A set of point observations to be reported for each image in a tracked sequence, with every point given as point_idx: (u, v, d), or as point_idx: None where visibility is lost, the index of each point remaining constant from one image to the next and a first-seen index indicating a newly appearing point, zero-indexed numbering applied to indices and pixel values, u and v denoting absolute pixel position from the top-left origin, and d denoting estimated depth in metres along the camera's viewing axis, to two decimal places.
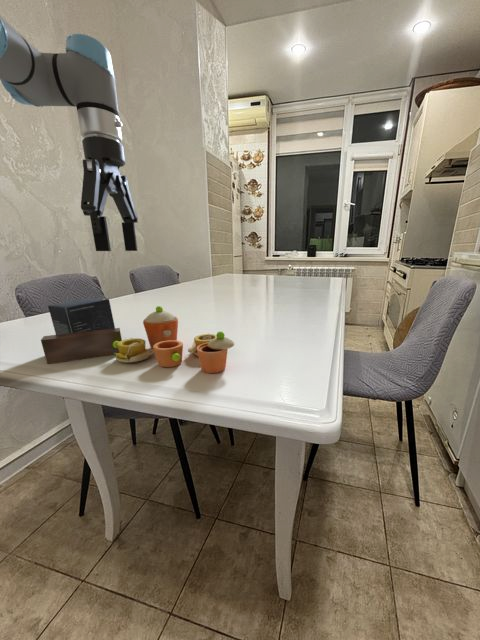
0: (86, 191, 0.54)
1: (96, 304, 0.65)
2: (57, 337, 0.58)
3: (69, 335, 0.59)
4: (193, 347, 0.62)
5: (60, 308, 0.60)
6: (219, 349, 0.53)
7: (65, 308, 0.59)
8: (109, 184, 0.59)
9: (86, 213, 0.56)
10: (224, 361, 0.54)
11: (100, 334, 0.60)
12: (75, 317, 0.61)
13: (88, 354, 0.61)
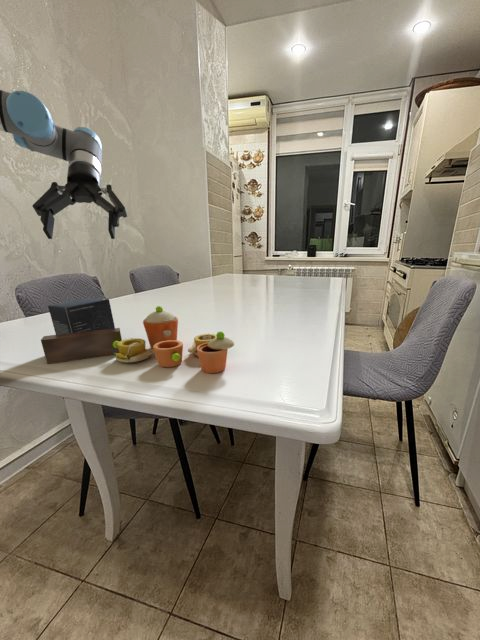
0: None
1: (96, 304, 0.65)
2: (57, 337, 0.58)
3: (69, 335, 0.59)
4: (193, 347, 0.62)
5: (60, 308, 0.60)
6: (219, 349, 0.53)
7: (65, 308, 0.59)
8: None
9: (116, 209, 0.72)
10: (224, 361, 0.54)
11: (100, 334, 0.60)
12: (75, 317, 0.61)
13: (88, 354, 0.61)
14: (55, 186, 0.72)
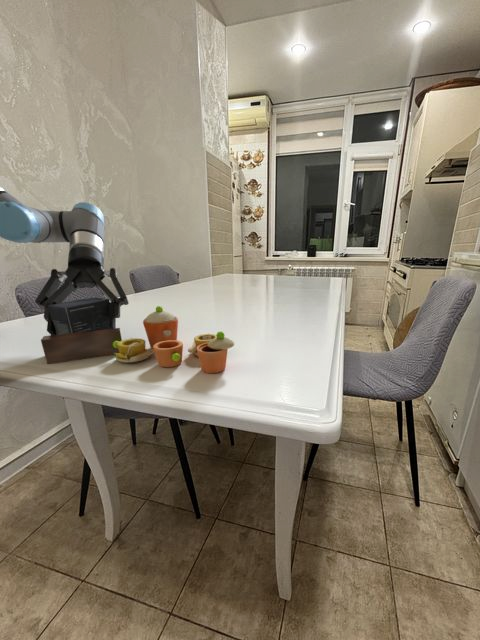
0: (122, 289, 0.70)
1: (96, 304, 0.65)
2: (57, 337, 0.58)
3: (69, 335, 0.59)
4: (193, 347, 0.62)
5: (60, 308, 0.60)
6: (219, 349, 0.53)
7: (65, 308, 0.59)
8: None
9: (117, 300, 0.68)
10: (224, 361, 0.54)
11: (100, 334, 0.60)
12: (75, 317, 0.61)
13: (88, 354, 0.61)
14: (55, 274, 0.68)
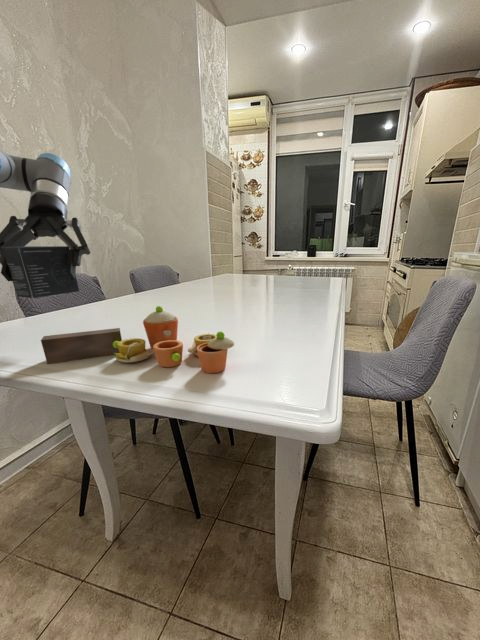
0: None
1: (54, 249, 0.64)
2: (57, 337, 0.58)
3: (69, 335, 0.59)
4: (193, 347, 0.62)
5: (13, 248, 0.58)
6: (219, 349, 0.53)
7: (18, 248, 0.58)
8: None
9: (77, 247, 0.66)
10: (224, 361, 0.54)
11: (100, 334, 0.60)
12: (30, 259, 0.60)
13: (88, 354, 0.61)
14: (14, 220, 0.66)
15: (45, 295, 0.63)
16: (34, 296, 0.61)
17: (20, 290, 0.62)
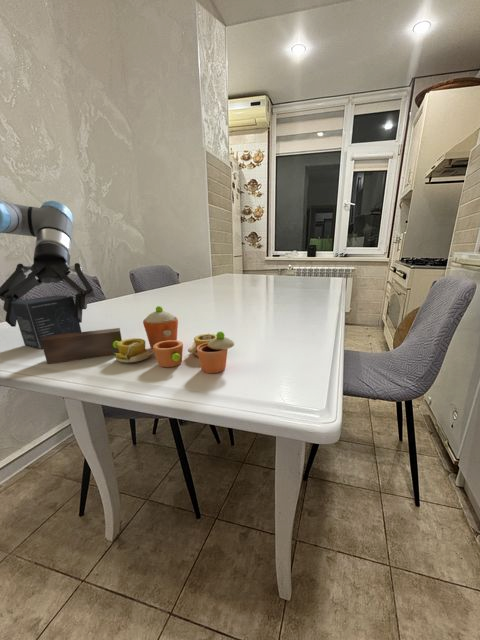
0: (88, 282, 0.74)
1: (59, 301, 0.68)
2: (57, 337, 0.58)
3: (69, 335, 0.59)
4: (193, 347, 0.62)
5: (22, 305, 0.63)
6: (219, 349, 0.53)
7: (26, 304, 0.63)
8: None
9: (84, 292, 0.71)
10: (224, 361, 0.54)
11: (100, 334, 0.60)
12: (37, 313, 0.65)
13: (88, 354, 0.61)
14: (20, 268, 0.71)
15: None
16: (41, 346, 0.66)
17: (28, 340, 0.67)
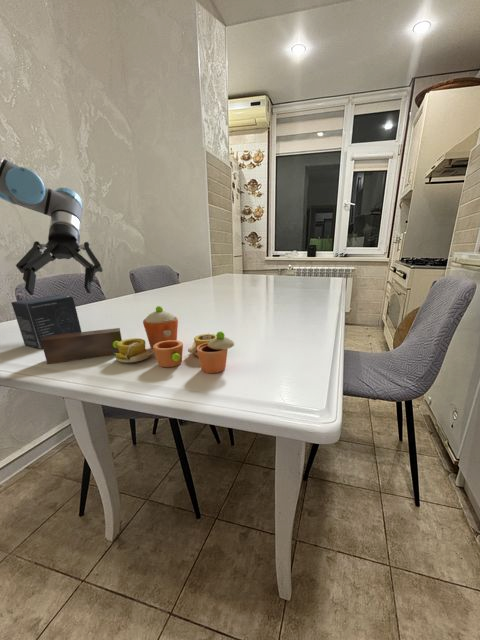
0: (96, 259, 0.84)
1: (59, 301, 0.68)
2: (57, 337, 0.58)
3: (69, 335, 0.59)
4: (193, 347, 0.62)
5: (22, 305, 0.63)
6: (219, 349, 0.53)
7: (26, 304, 0.63)
8: None
9: (92, 266, 0.81)
10: (224, 361, 0.54)
11: (100, 334, 0.60)
12: (37, 313, 0.65)
13: (88, 354, 0.61)
14: (37, 245, 0.81)
15: None
16: (41, 346, 0.66)
17: (28, 340, 0.67)
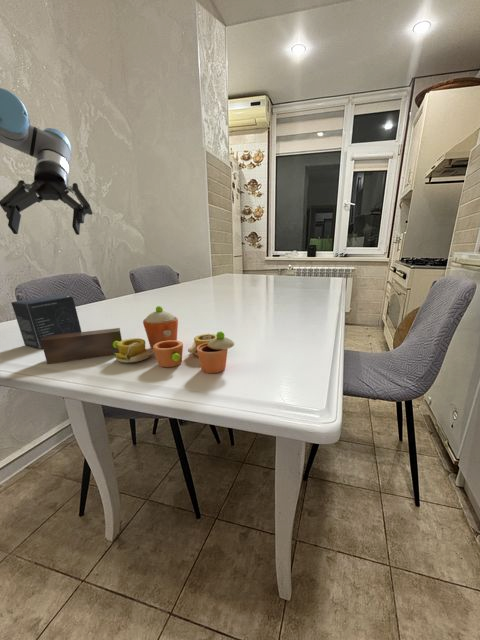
0: None
1: (59, 301, 0.68)
2: (57, 337, 0.58)
3: (69, 335, 0.59)
4: (193, 347, 0.62)
5: (22, 305, 0.63)
6: (219, 349, 0.53)
7: (26, 305, 0.63)
8: None
9: (81, 207, 0.76)
10: (224, 361, 0.54)
11: (100, 334, 0.60)
12: (37, 313, 0.65)
13: (88, 354, 0.61)
14: (22, 184, 0.76)
15: None
16: (41, 346, 0.66)
17: (28, 340, 0.67)
